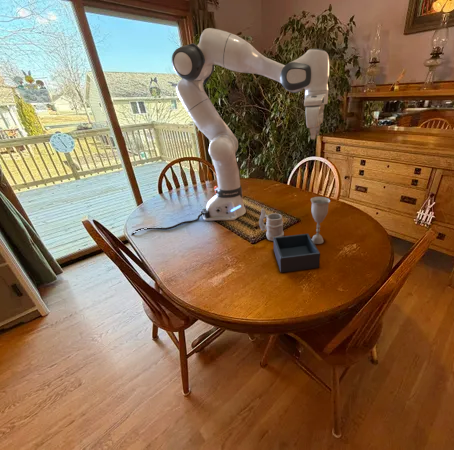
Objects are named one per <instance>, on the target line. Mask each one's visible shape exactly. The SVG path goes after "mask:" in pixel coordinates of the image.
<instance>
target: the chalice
mask: <svg viewBox="0 0 454 450" xmlns="http://www.w3.org/2000/svg"><path fill="white" fill-rule="evenodd" d="M310 202H311V207H310V208H311V210H310V212H311V213H310V214H311V216H312V218H313V220H314V222H315V223H316V229H315V232H316V233H315V234H314V235H313V236H312V238H311V239H312V241H313V243H314V244H315V245H321V244H323V243H324V238H323V236H322V235H321V234H320V232H321V229H320V228H321V223H323V221H324V220H325V219H326V217H327V215H328V213H329V204H330V203H331V199H330V198H328V197H325V196H314V197H313V196H312V197H311V198H310Z"/></svg>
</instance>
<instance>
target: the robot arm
mask: <svg viewBox="0 0 454 450" xmlns="http://www.w3.org/2000/svg"><path fill="white" fill-rule="evenodd" d="M215 65H216V66H219V67H222V68H224V69H226V70H229V71H232V72H237V73H243V74H252V75H253V74H254V75H260V76H262V77H266V78H268V79H271V80H273V81H275V82H278V83H279V84H281V86H282V87H283V88H284V89H285V90H286V91H288V92H290V93H292V94H297V93H300V92H302V91H303V90H304V100H303V106H304V107H305V124H306V128H307V129H309V133H310V140H316V138H317V136H320V130H321V124H323V122H324V109H325V105H328V103H329V85H328V83H329V78H330V56H329V54H328V52H327V51H326V50H324V49H322V48H309V49H308V50H306V52H304V54H302V55H301V56H299V57H298V58H296V59H294V60H292V61H289V62H288V63H286V64H283V63H280V62H278V61H275V60H273V59H271V58H269V57H266V56H265V55H263V54H262V53H260V52H259V51H258V50H257V49H256V48H255V46H253V45H252V44H251V43H249V42H248V41H247V40H245V39H244V38H242V37H240V36H239V35H237V34H234V33H231V32H228V31H226V30H223V29H218V28H213V27H208V28H205V29H204V30H202V31H201V34H200V37H199V42H198V44H196V43H193V42H192V43H189V44H186V45H182V46H180V47H178V48H176V49H175V50H174V51H173V53H172V56H171V66H172V68H173V69H172V70H174V72H175V74H176V75H177V76H178V77H179V78H181V79H180V80H179V81H178V82H177V83H176V87H175V91H176V93H177V97H178V98H179V100H180V102H181V104H182V106H183V108H184V110H185V111H186V112H187V114H188V116H189V117H190V118H191V120H192V122H193V123H194V125H195V126H196V127H197V129H198V131H200V132H201V133H202V134H203V135H204V136H205V137H206V138H207V139H208V140H209V146H208V154H209V156H210V159H211V162H212V165H213V167H214V172H215V175H216V182H217V185H215V186H214V187H213V190H214V196H212V197H211V198H210V199H209V200H208V201H207V203H206V205H205V206H206V207H205V208H202V209H201V213H199V214H198V216H197V218H195V219H193V220H184V221H181V222H179V223H177V224H174V225H171V226H167V227H161V228H147V227H146V228H147V229H144V228H145V227H141V228H137V229H135V230H134V231H138V230H140V231H142V230H141V229H144V230H143V231H146V230H147V231H148V230H160V231H161V230H162V231H167V230H171V229H174V228H177V227H180V226H181V225H183V224H189V223H193V222H197V221H199V220H200V217H202V219H203V220H204V221H210V222H211V221H235V220H236V219H238V218H239V217H242V216H244V215H245V214H246V213H247V209H246V207H245V204H244V199H243V188H242V185H241V177H240V176H241V175H240V169H239V166H238V163H237V156H236V153H237V151H238V149H239V141H238V138H237V136H236V135H235V134H234V133H233V131H232V130H231V129H230V127H229V126H228V124H227V123H226V122H225V121H224V119H223V118H222V117H221V115H220V114H219V112H218V110H217V109H216V107H215V106H214V104H213V102H212V101H211V99H210V98H209V96H208V94H207V92H206V91H205V88H204V85H206V84H207V82H208V81H209V79H210V78H211V76H212V75H213V73H214V70H215ZM138 232H139V231H138ZM135 234H137V232H135V233H133V232H132V233H131V234H130V236H134V235H135Z"/></svg>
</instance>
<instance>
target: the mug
mask: <svg viewBox="0 0 454 450" xmlns="http://www.w3.org/2000/svg"><path fill="white" fill-rule="evenodd" d="M260 210H261V212H260V216H259V220H258V224H259V228H260V230H261V231H262V232H264V231H265V230H266V232H265V236H266V239H267V240H268V241H271V242H274V241H273V237H282V236H285V232H284V221H283V215H282V214H280V213H276V212H272V213H269V214H267V213H266V209H264V208H263V207H262V208H261V209H260ZM265 218H266V222H264V219H265Z"/></svg>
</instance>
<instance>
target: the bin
mask: <svg viewBox="0 0 454 450" xmlns="http://www.w3.org/2000/svg"><path fill="white" fill-rule="evenodd" d="M272 242H273V253H274V255H275V259H276V262H277V266H278V269H279V271H280V273H289V272H296V271H303V270H310V269H319V268H320V259H321V252H320V250H319V249H318V247H317V246H316V244H315V243H313V241H312V238H311V236H310V233H300V234H292V235H284V236H282V237H273V241H272Z"/></svg>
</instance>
